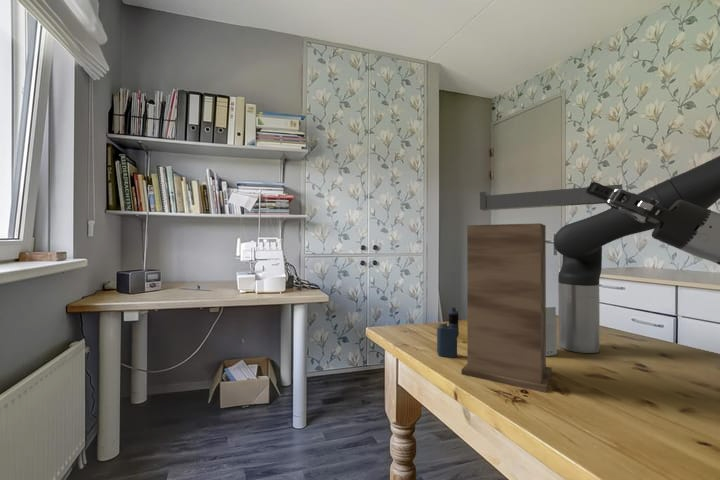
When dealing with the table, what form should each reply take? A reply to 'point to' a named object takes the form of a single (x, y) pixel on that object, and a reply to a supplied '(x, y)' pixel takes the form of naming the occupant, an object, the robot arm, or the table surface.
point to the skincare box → (551, 331)
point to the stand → (507, 304)
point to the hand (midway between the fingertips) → (589, 188)
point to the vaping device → (448, 336)
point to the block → (541, 199)
